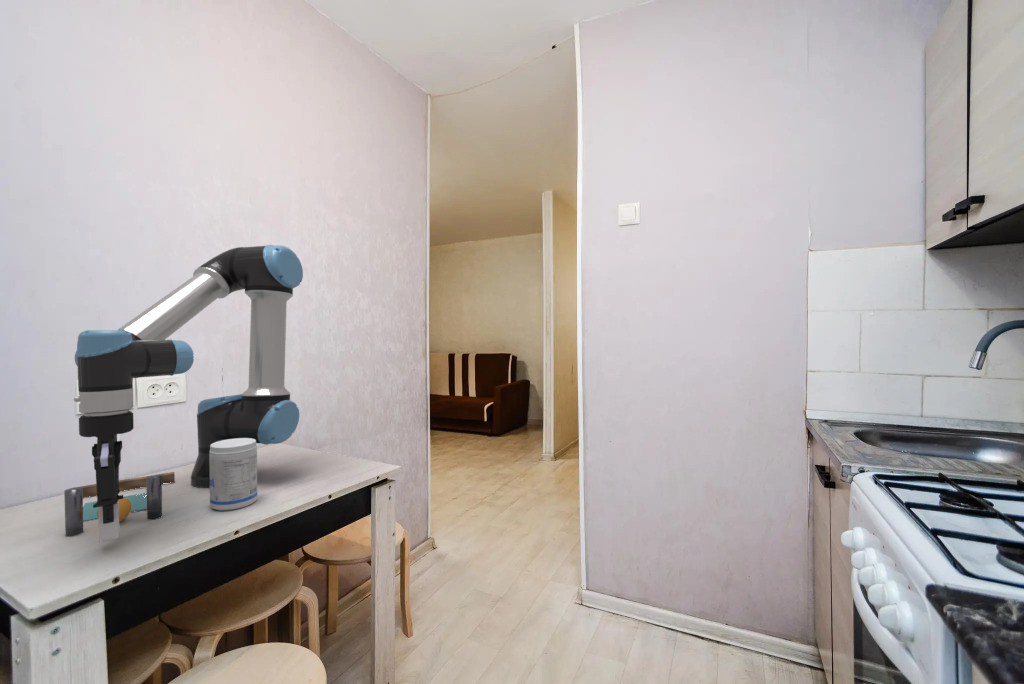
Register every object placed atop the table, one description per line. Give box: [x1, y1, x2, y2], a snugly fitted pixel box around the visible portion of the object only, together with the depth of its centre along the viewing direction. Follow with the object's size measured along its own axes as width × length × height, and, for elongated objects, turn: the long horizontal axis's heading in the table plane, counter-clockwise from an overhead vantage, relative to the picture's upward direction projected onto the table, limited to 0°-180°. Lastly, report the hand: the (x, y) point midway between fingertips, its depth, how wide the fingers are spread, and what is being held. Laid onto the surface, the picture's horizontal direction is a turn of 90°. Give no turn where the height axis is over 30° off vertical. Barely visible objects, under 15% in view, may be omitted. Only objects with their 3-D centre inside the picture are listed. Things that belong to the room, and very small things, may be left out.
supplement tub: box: [209, 438, 258, 512], centre depth 104 cm, size 10×10×15 cm
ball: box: [97, 496, 131, 523], centre depth 94 cm, size 6×6×6 cm
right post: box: [145, 474, 163, 520], centre depth 97 cm, size 3×3×9 cm
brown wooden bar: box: [73, 471, 176, 498], centre depth 115 cm, size 20×2×2 cm, turn 128°
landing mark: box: [83, 492, 147, 523], centre depth 104 cm, size 14×14×1 cm
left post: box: [63, 486, 84, 538], centre depth 89 cm, size 3×3×9 cm
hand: (109, 537), depth 83 cm, fingers closed
